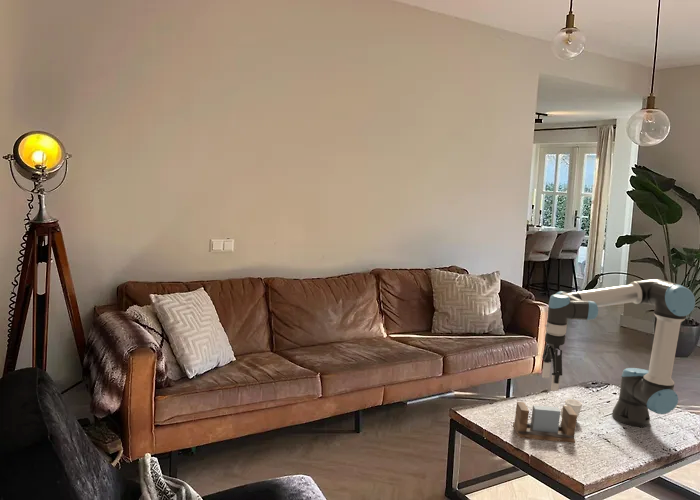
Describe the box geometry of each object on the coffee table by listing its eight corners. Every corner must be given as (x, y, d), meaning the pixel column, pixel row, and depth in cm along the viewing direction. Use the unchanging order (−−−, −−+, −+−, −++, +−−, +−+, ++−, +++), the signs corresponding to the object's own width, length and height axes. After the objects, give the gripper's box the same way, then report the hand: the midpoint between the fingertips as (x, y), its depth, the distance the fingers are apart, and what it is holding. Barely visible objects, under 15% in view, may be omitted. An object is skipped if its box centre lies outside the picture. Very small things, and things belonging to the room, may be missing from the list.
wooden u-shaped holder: (566, 429, 247) (569, 404, 245) (575, 443, 235) (578, 417, 233) (513, 424, 248) (516, 399, 246) (519, 437, 236) (522, 411, 234)
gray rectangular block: (554, 430, 243) (557, 407, 241) (557, 434, 239) (560, 411, 237) (530, 427, 243) (533, 405, 242) (532, 432, 239) (535, 409, 238)
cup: (583, 422, 255) (585, 404, 254) (566, 425, 251) (568, 407, 250) (571, 415, 261) (573, 398, 260) (554, 418, 257) (556, 400, 256)
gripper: (538, 324, 247) (533, 372, 251) (554, 342, 223) (548, 395, 226) (556, 325, 247) (551, 373, 250) (574, 343, 222) (568, 396, 225)
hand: (549, 383), depth 238 cm, fingers open, 13 cm apart
